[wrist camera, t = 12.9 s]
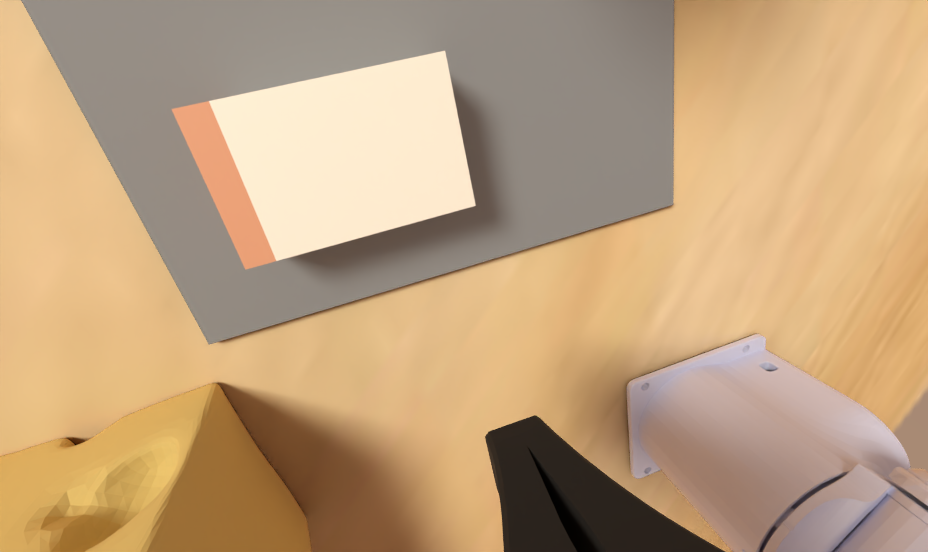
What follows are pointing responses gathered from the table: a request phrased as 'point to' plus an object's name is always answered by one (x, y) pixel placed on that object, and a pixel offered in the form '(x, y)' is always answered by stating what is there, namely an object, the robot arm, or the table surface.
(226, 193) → the cream block
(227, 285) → the slate mat
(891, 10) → the table surface
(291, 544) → the cheese
